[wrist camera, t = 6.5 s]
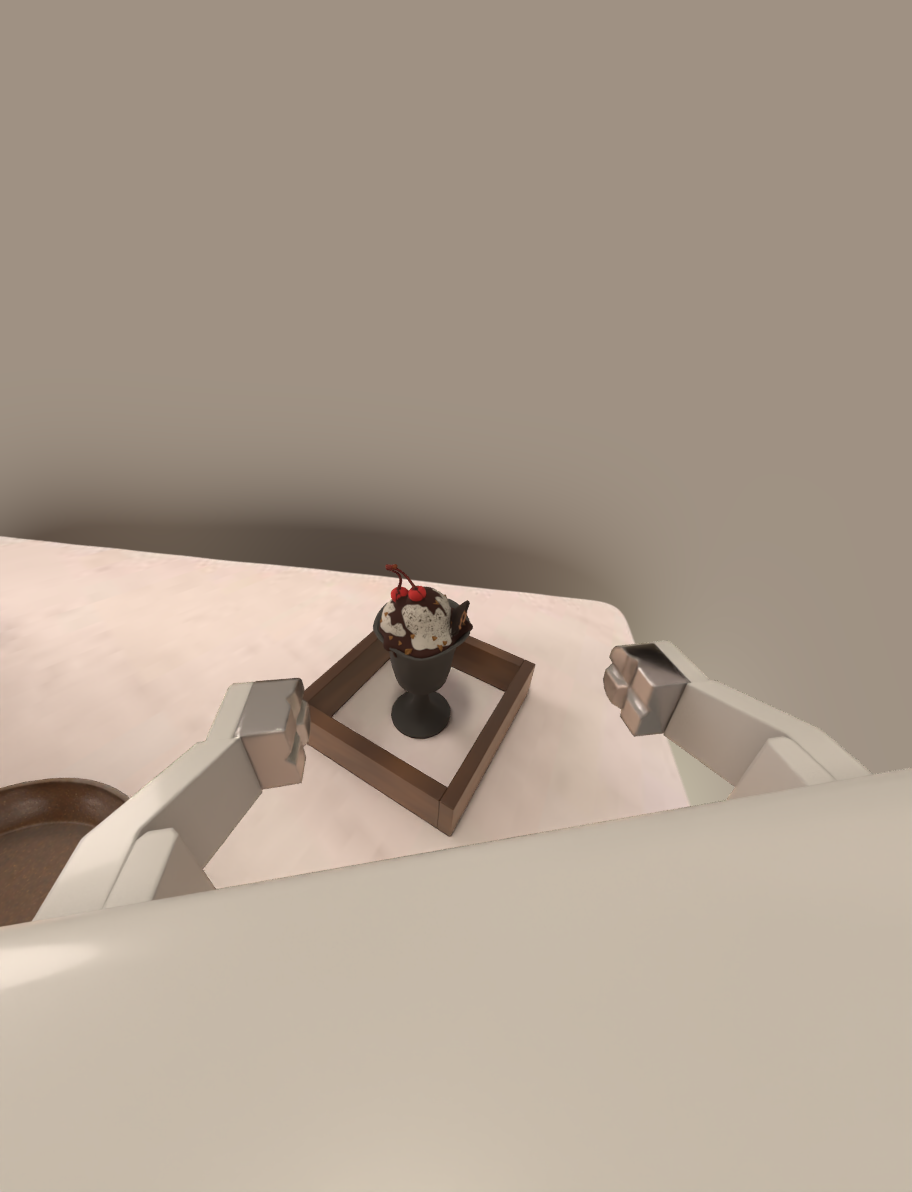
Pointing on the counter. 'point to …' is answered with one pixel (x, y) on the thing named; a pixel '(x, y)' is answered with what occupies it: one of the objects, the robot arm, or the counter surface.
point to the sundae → (421, 652)
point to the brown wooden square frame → (392, 772)
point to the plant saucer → (44, 836)
